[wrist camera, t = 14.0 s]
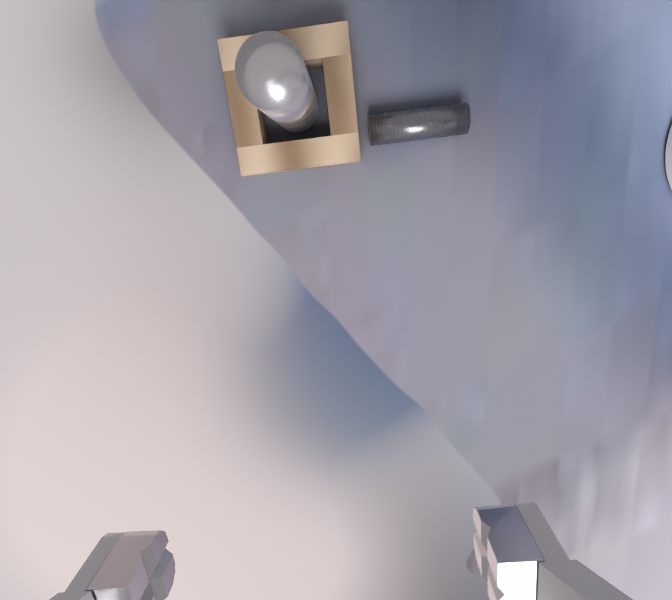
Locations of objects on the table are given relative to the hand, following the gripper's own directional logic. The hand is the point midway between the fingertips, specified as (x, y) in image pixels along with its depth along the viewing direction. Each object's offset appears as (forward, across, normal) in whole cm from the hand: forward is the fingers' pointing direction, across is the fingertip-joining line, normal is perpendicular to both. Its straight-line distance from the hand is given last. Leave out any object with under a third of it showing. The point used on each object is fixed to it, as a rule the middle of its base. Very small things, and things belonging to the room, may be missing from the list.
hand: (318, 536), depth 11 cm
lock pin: (+29, -8, -12) cm, 33 cm away
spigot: (+29, +2, -15) cm, 33 cm away
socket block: (+29, +2, -15) cm, 33 cm away
